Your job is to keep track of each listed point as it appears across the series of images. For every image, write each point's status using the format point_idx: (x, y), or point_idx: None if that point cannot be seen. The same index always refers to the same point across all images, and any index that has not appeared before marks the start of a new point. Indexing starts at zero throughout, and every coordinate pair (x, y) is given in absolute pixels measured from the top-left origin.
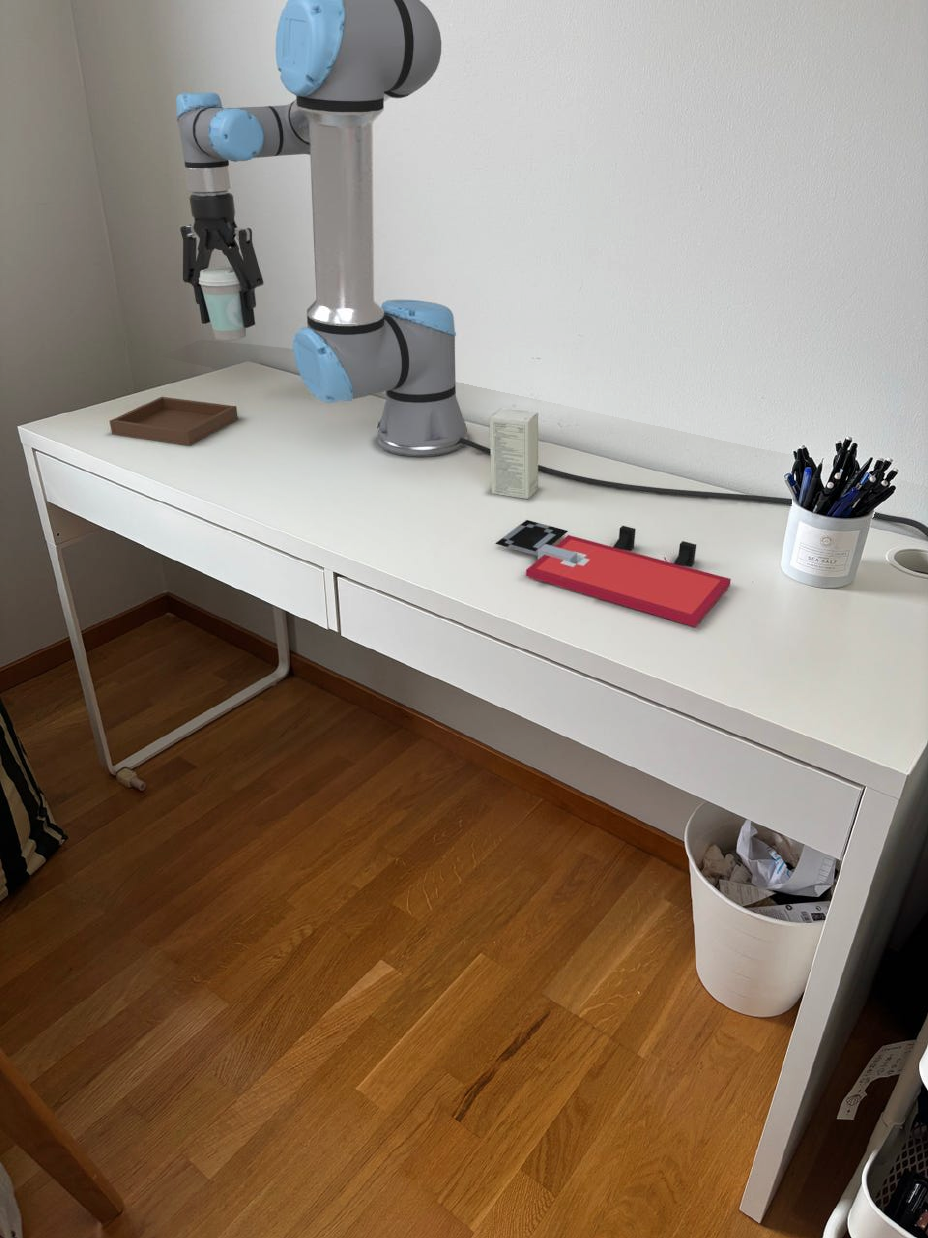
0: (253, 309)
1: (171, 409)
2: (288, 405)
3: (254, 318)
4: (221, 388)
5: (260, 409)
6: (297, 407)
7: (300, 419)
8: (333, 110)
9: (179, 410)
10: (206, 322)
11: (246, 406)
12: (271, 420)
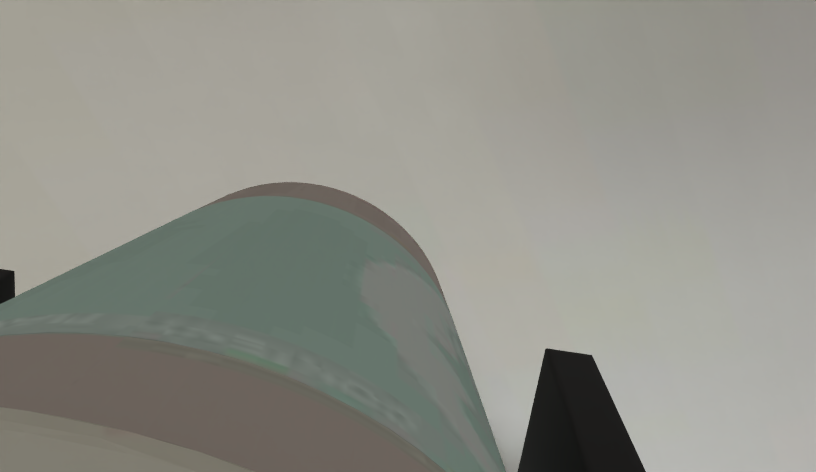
0: (636, 454)
1: None
2: (681, 257)
3: (606, 391)
4: (173, 44)
5: (555, 340)
6: (740, 278)
7: (802, 433)
8: None
9: None
10: None
11: (465, 311)
12: (665, 467)
